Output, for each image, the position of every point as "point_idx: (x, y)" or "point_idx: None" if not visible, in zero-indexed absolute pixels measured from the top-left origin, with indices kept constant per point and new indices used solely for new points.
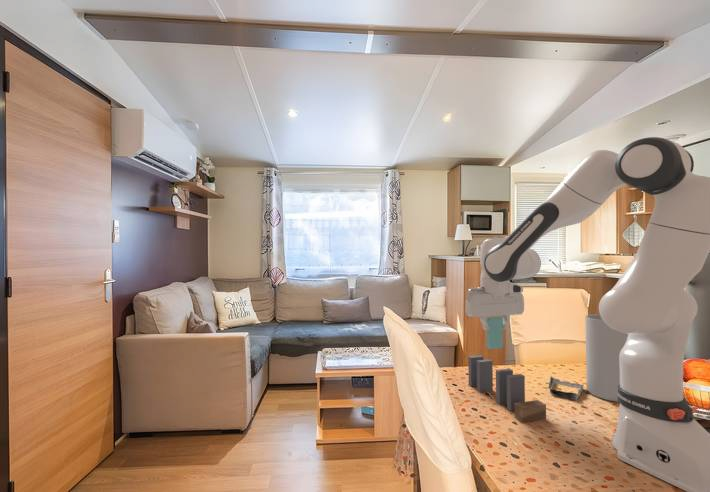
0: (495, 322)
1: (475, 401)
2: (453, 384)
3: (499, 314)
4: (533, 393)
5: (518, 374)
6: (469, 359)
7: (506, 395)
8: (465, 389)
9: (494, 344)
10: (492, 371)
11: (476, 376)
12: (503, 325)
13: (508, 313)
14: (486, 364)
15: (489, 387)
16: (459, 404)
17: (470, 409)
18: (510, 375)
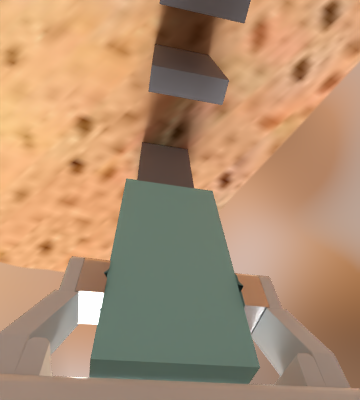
0: (184, 318)
1: (252, 108)
2: None
3: (172, 394)
4: (25, 65)
5: (177, 2)
6: None
7: (183, 54)
8: (209, 178)
9: (183, 200)
10: (138, 171)
11: None
12: (100, 280)
13: (14, 397)
14: None
15: (154, 148)
16: (308, 113)
17: (312, 73)
18: (227, 13)
